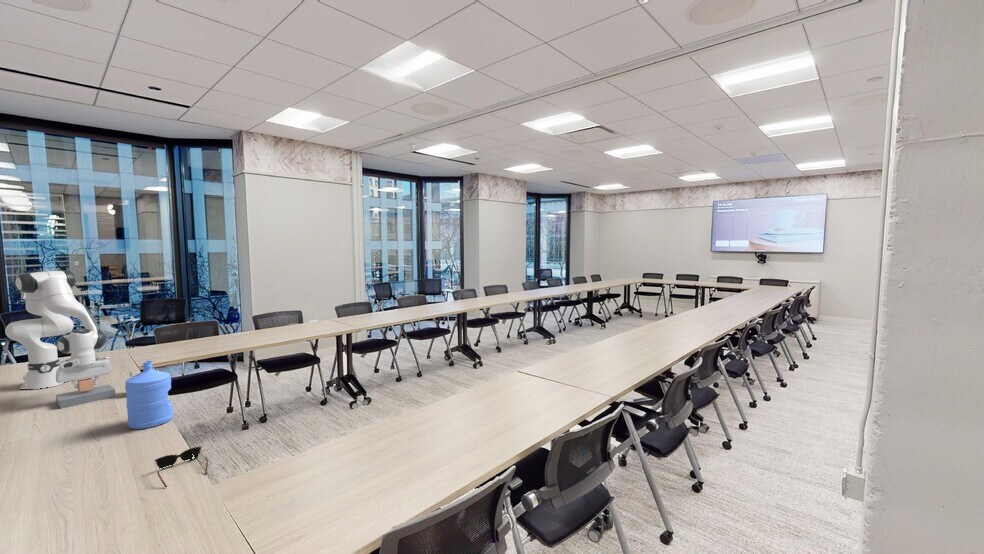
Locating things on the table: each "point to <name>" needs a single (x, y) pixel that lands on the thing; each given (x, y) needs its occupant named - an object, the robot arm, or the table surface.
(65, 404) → the stand
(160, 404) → the water jug
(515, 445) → the table surface
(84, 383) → the cube
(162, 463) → the sunglasses
